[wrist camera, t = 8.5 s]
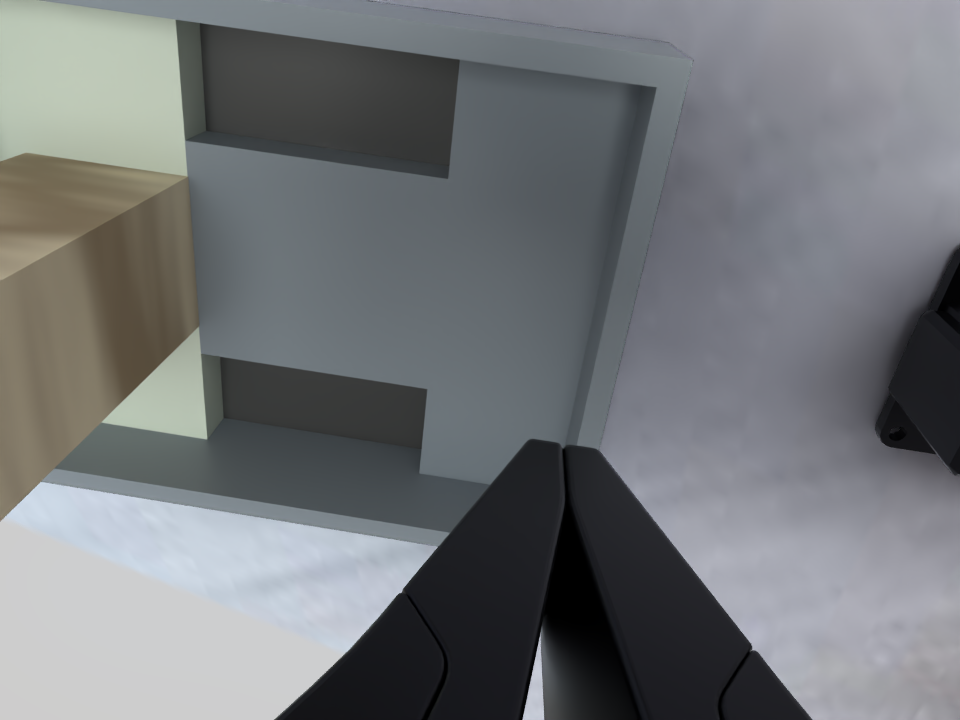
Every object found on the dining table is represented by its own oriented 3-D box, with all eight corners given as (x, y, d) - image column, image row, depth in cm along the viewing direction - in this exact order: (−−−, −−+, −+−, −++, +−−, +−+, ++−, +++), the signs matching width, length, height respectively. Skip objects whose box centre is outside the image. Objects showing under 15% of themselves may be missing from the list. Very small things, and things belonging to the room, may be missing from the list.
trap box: (668, 42, 18) (693, 60, 15) (569, 483, 25) (570, 568, 21) (-27, -55, 19) (-163, -59, 15) (59, 402, 26) (-21, 471, 22)
